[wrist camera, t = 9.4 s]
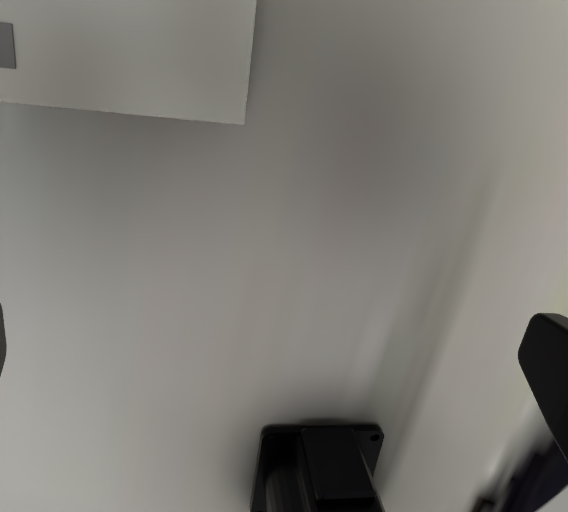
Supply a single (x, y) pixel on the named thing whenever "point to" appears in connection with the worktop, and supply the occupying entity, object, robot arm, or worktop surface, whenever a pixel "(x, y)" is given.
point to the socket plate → (129, 56)
